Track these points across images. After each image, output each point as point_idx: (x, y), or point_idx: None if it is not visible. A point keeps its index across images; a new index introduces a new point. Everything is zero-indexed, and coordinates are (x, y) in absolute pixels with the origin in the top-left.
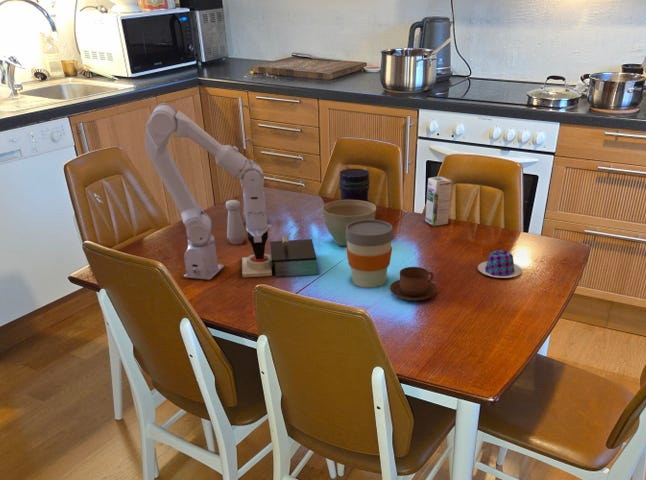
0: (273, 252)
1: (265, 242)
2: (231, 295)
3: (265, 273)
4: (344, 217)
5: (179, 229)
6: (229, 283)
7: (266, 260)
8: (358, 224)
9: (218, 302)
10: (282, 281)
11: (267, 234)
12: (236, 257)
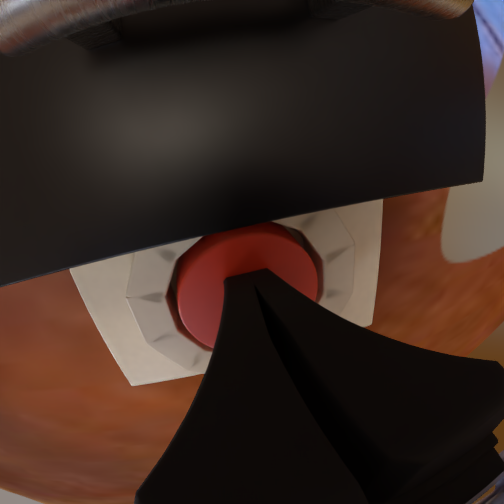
0: (323, 177)
1: (431, 352)
2: (475, 295)
3: (380, 202)
4: None
5: (4, 484)
6: (399, 338)
7: (279, 231)
8: None
9: (488, 312)
10: None
11: (353, 478)
12: (98, 397)
